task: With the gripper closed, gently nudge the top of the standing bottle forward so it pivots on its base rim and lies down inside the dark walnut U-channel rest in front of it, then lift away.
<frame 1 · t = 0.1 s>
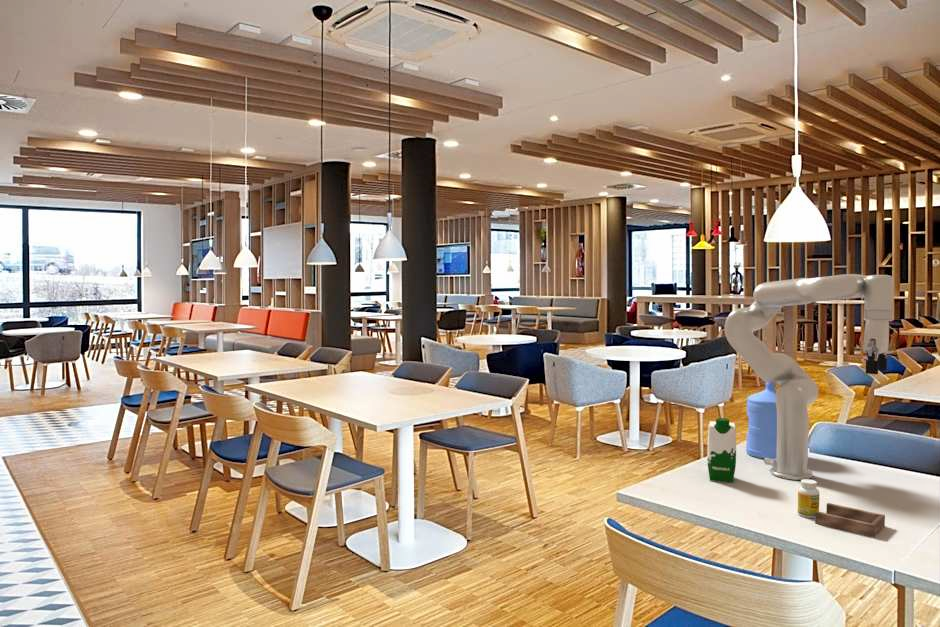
hand: (876, 371, 212), 37 cm above the table, tool pointing down, fingers open, 9 cm apart
supplement bottle: (808, 516, 193), on the table
water jug: (768, 455, 255), on the table
milk carton: (721, 479, 227), on the table
u rest: (849, 524, 186), on the table
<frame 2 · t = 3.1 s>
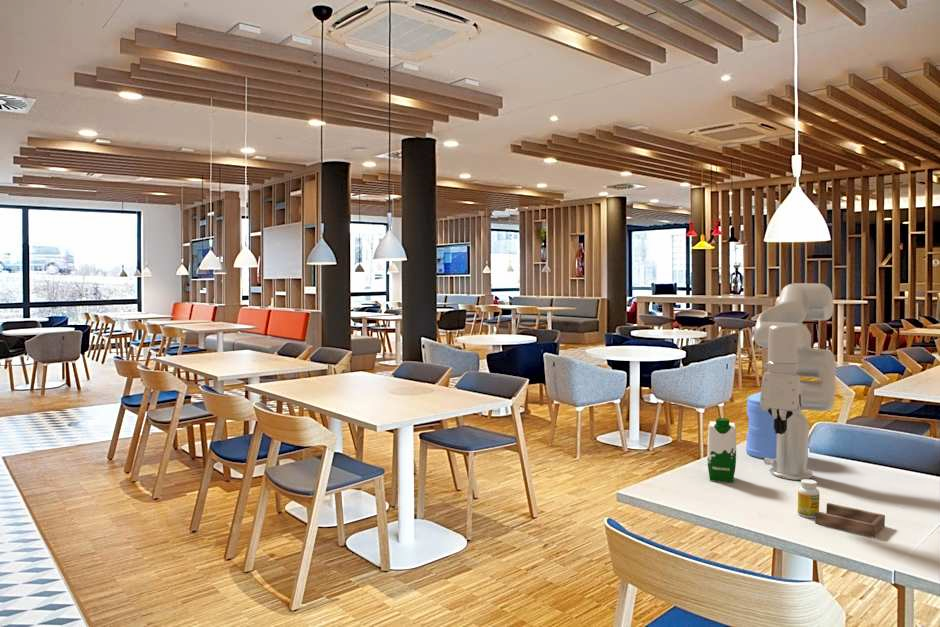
hand: (780, 432, 197), 22 cm above the table, tool pointing down, fingers closed
nothing on the table moved.
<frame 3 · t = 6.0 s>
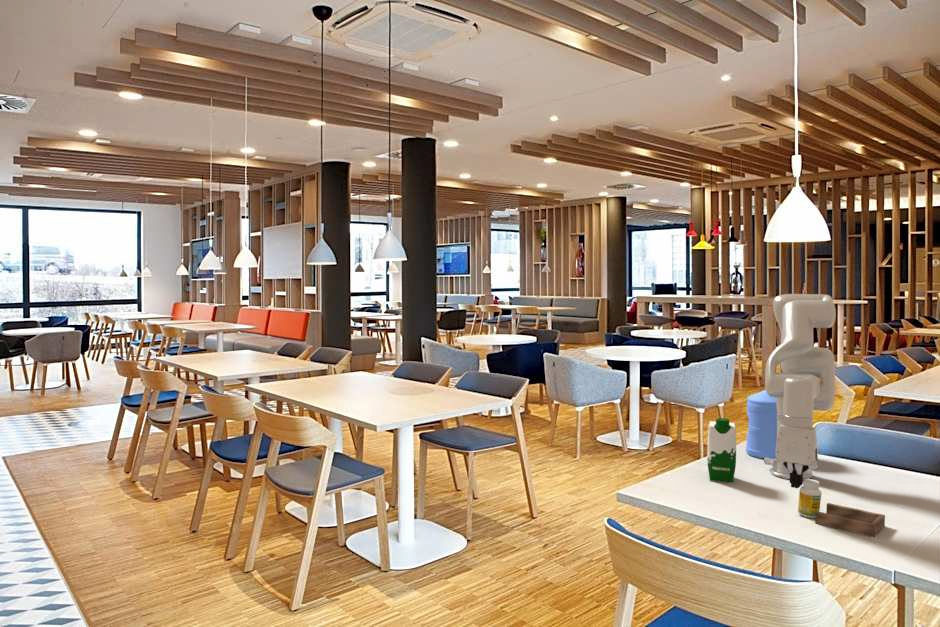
hand: (795, 486, 195), 7 cm above the table, tool pointing down, fingers closed
supplement bottle: (808, 515, 193), on the table, touching gripper
everything else where it was.
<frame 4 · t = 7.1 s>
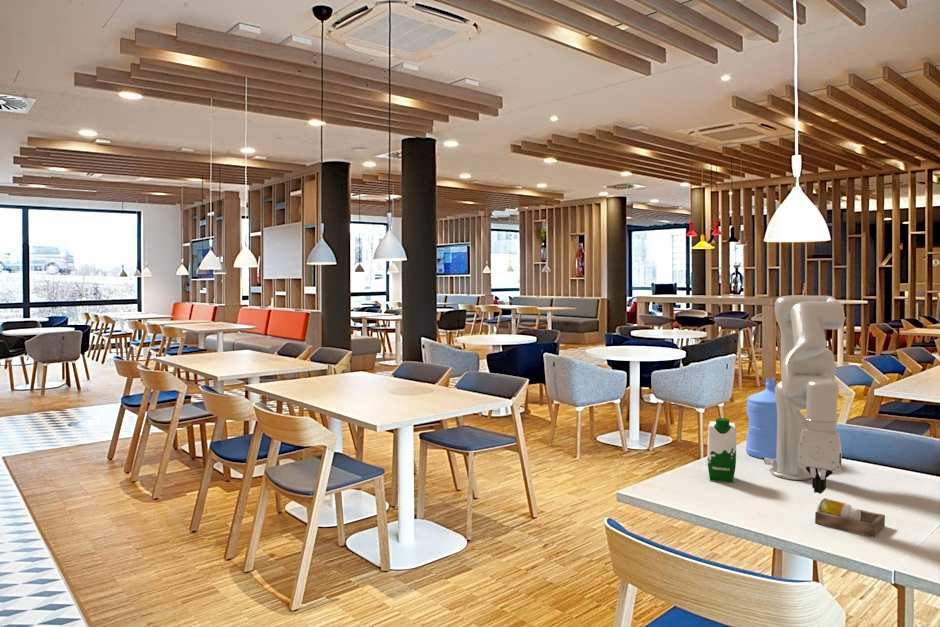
hand: (818, 491, 191), 7 cm above the table, tool pointing down, fingers closed
supplement bottle: (820, 506, 192), point 3 cm above the table
everything else where it was.
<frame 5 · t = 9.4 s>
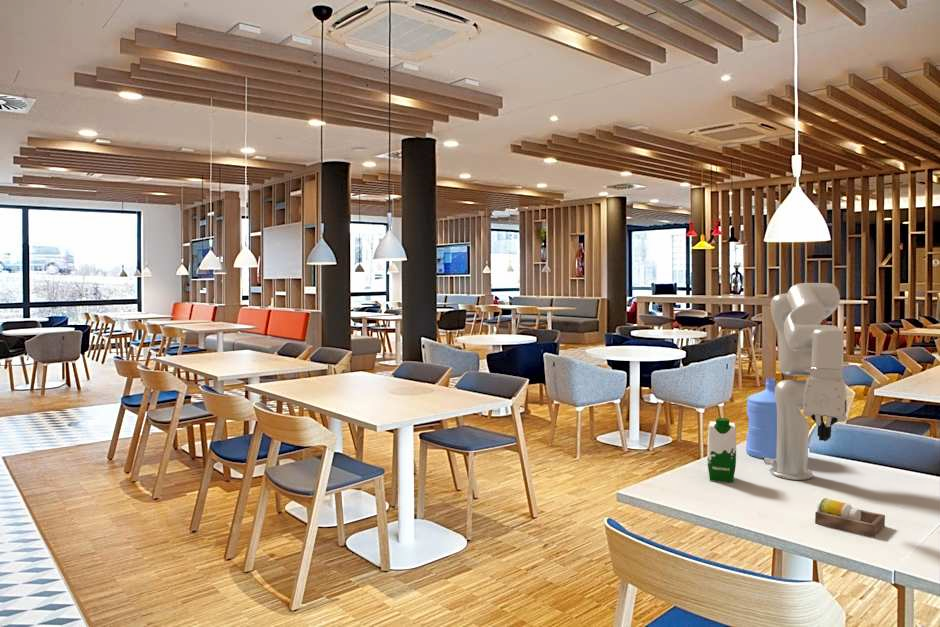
hand: (824, 439, 191), 21 cm above the table, tool pointing down, fingers closed
supplement bottle: (820, 506, 192), point 3 cm above the table, touching u rest
everything else where it was.
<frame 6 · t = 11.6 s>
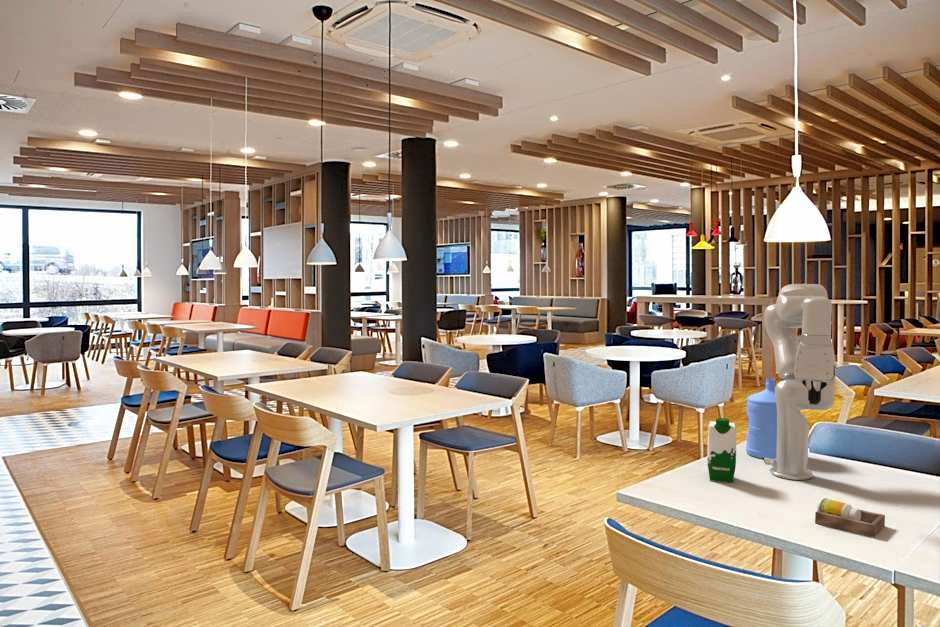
hand: (814, 403, 202), 29 cm above the table, tool pointing down, fingers closed
nothing on the table moved.
at the end: supplement bottle tilted 90°; supplement bottle inside the target area on the u rest (4.4 cm from its centre), point 2.7 cm above the u rest's base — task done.
